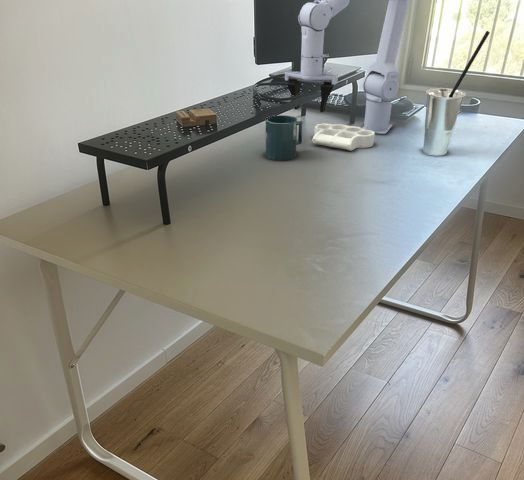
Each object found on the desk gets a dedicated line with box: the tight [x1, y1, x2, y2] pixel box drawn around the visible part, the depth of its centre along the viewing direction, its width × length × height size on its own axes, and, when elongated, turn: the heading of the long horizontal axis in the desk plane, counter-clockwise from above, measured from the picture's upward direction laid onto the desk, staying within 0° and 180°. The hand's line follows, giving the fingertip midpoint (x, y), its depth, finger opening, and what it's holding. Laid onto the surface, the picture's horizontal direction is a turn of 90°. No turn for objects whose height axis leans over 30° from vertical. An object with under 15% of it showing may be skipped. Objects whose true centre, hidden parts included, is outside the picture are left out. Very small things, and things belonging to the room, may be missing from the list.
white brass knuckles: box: [311, 122, 376, 152], centre depth 159 cm, size 3×18×15 cm
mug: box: [265, 114, 303, 162], centre depth 150 cm, size 11×8×10 cm
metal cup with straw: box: [422, 30, 491, 157], centre depth 144 cm, size 11×11×30 cm
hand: (309, 110), depth 156 cm, fingers open, 7 cm apart
